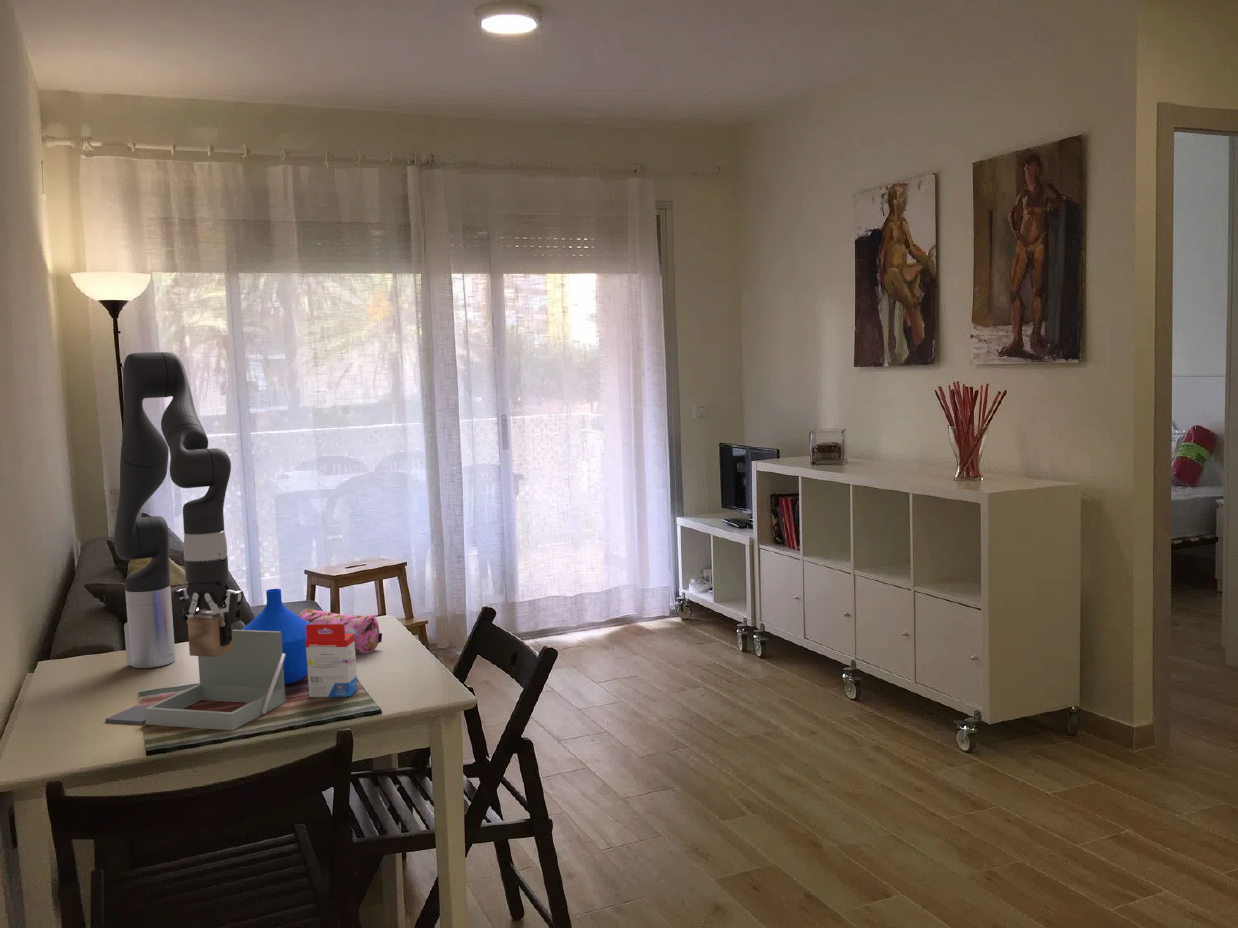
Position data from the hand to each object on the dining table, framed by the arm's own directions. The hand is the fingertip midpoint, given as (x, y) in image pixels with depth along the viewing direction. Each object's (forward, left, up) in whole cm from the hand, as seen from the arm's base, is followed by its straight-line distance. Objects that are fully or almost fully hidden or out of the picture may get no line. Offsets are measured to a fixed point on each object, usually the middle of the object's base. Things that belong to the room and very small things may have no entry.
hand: (211, 643), depth 193 cm
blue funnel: (-1, +22, -14) cm, 26 cm away
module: (0, 0, -2) cm, 2 cm away
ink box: (+16, +15, -14) cm, 26 cm away
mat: (-14, -4, -13) cm, 20 cm away
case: (0, 0, -13) cm, 13 cm away
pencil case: (-2, +47, -14) cm, 49 cm away
